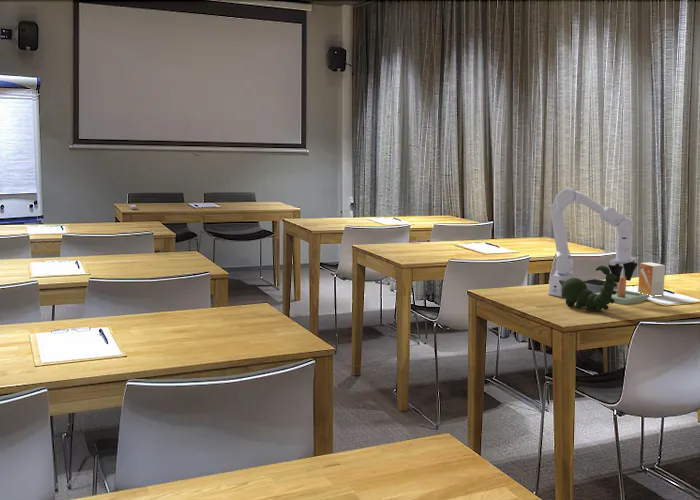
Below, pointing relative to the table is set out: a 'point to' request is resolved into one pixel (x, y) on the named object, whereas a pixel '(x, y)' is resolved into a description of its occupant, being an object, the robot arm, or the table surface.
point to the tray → (629, 297)
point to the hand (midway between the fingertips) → (621, 281)
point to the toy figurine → (589, 292)
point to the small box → (651, 278)
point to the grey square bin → (596, 285)
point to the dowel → (621, 287)
